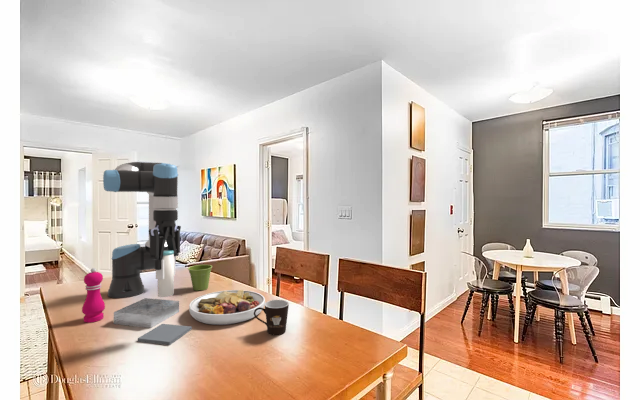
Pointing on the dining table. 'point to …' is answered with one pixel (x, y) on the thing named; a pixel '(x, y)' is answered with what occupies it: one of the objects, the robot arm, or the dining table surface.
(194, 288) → the plant pot
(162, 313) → the housing
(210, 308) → the bowl
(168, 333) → the pad
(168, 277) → the plug
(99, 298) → the pepper mill
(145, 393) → the dining table surface
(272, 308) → the coffee mug
